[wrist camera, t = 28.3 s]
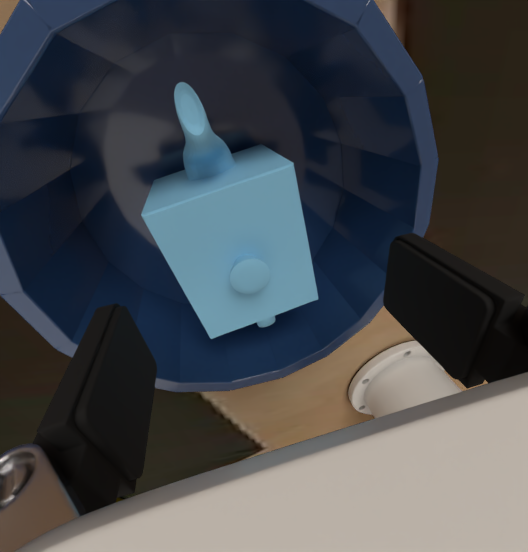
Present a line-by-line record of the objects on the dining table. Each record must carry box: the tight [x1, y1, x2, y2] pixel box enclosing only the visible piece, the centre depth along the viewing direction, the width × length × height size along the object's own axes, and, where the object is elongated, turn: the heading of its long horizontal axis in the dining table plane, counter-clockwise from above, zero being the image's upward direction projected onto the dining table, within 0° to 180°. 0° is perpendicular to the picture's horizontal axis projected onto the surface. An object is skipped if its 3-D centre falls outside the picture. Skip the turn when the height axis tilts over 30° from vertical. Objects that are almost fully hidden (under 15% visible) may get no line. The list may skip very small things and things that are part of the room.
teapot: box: [141, 82, 319, 339], centre depth 14 cm, size 12×6×8 cm, turn 15°
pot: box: [0, 0, 439, 392], centre depth 14 cm, size 18×18×8 cm
